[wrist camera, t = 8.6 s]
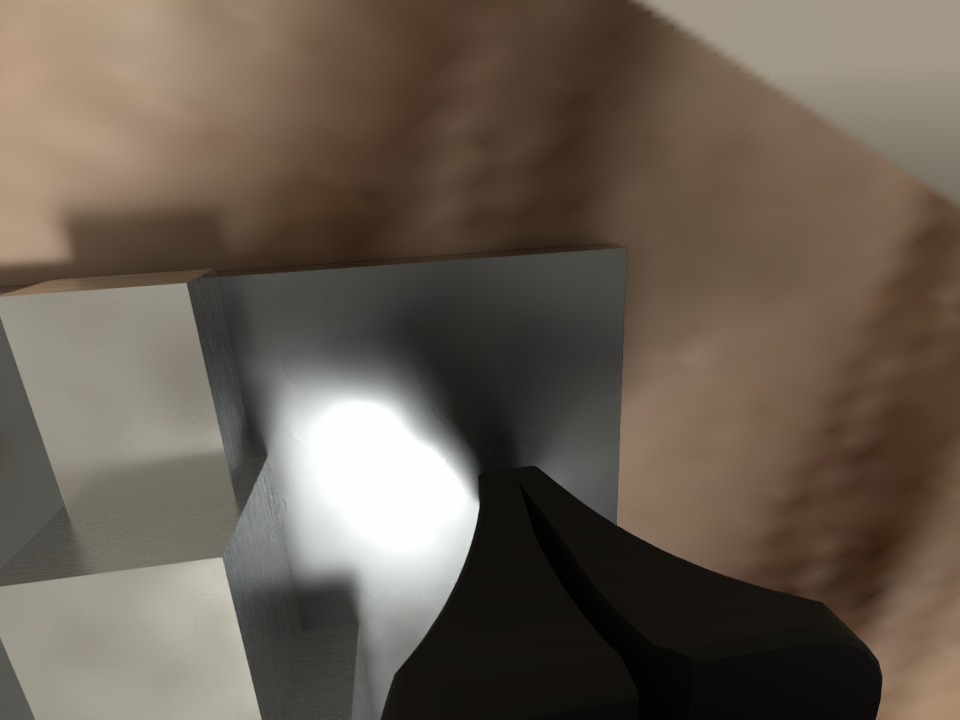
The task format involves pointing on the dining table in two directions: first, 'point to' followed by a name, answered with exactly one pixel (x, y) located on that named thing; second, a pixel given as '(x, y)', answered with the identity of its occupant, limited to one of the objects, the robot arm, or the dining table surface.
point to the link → (156, 522)
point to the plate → (389, 421)
